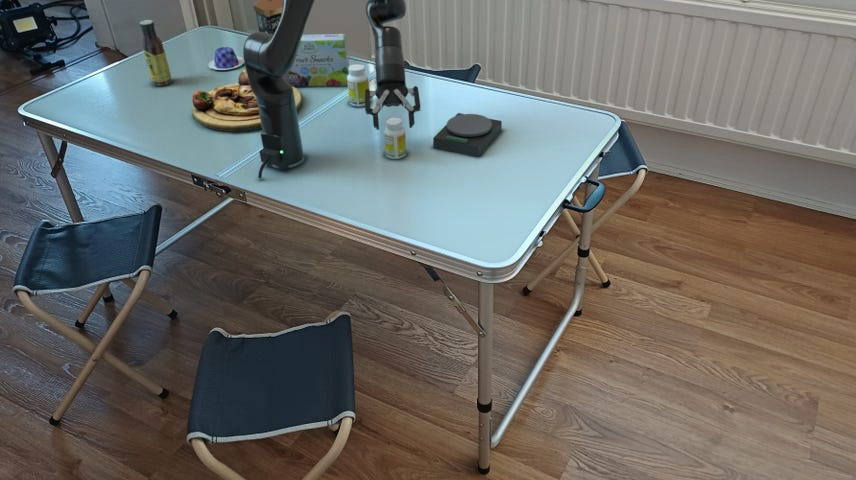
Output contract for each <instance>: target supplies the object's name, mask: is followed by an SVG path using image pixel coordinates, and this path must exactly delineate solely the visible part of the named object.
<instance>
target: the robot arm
mask: <svg viewBox="0 0 856 480" xmlns="http://www.w3.org/2000/svg"><path fill="white" fill-rule="evenodd" d="M314 3H315V0H282V14H281V18H280V21H279V23H278V26H277V29H276V31H275V33H274V35H272V34H268V33H264V32H259V31H254V32H252V33H251V34H249V35H248V36H247V38H246V39H245V41H244V44H243V50H242V54H243V57H242V58H243V59H244V63H243V64H244V67H245V70H246V71H247V75H248V79H249V83H250V87H251V90H252V92H253V93H254V95H255V96H256V100H257V105H258V110H259V115H260V121H261V126H262V128H261V130H262V131H261V132H260V139H261V143H262V149H260V150H259V152H258V153H259V157H260V158H259V159H260V162H261V163H262V164H261V165H260V167H259V170H258V175H257V178H258V179H262V175H263V171H264V168H265V166H266V167H268V168H271V169H276V170H280V171H284V172H285V171H287V170H290V169H293V168H296V167H298V166H300V165H302V164H303V163H304V162H305V154H304V149H303V148H304V147H303V142H302V138H301V130H300V124H299V119H298V118H299V117H298V111H297V110H296V104H295V98H294V91H293V88H292V86H291V85H290V84H289V83H288V82H287V81H286V80H285V79H284V78H283V76H284V75H286V74H287V73H288V72H289V71H290V69H291V68H292V66H293V63H294V61H295V58H296V55H297V52H298V48H299V45H300V41H301V38H302V35H304V32H305V28H306V24H307V21H308V19H309V16H310V14H311V11H312V8H313V5H314ZM406 13H407V4H406V1H405V0H367V1H366V4H365V15H366V16H367V19H368V22H369V25H370V27H371V31H372V34H373V40H374V52H375V55H374V65H375V66H374V67H375V77H376V78H375V79H376V88H375V90H370V88H369V89H366V90H365V106H364V110H365V114H366V115H371V116H372V126H373V128H374V129H375V130H377V131H379V130H380V120H379V113H380V112H381V111H382V110H383V109H384V107H387V108H391V107H399V106H402V107H403V108H404V110H406V112H408V113H407V114H408V127H409V129H412V128H413V126H415V113H416V112H420V111H421V100H420V99H421V98H420V92H419V87H418V85H415V86H413V87H410V88H408V87H407V83H406V69H405V58H404V53H403V46H402V42H403V41H402V34H401V31H400V29H399V28H398V27H395V26H390V25H384V24H388V23H390V22H391V23H392V22H394V21H398V20H399V21H400V20H401V19H403V18H404V17H405V15H406ZM408 95H410V97H412V98H413V99H414V105H412V104H411V102H410V101H409V100H408V99H407V98H406V97H408ZM374 97H376V98H377V99H378V101H377V102H376V104H375V106H374V107H373V108H371V100H374Z"/></svg>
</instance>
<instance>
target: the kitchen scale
mask: <svg viewBox="0 0 856 480" xmlns="http://www.w3.org/2000/svg"><path fill="white" fill-rule="evenodd" d="M502 121H503V120H500V119H493V118H489V117H487V116H484V115H481V114H477V113H460V112H458V113H457V114H456V115H454V116H453V117H451V118H449V119H448V120H447V122H446V125H444V127H443V128H441V129H440V131H439V132H437V133H436V135H434V137H433V138H432V142H433V149H437V150H442V151H447V152H451V153H457V154H462V155H468V156H471V157H475V158H476V157H477V158H479V157H480V156H481V155H482V154H483V152H484V151H485V150H486V149H487V148H488V147H489V146H490V145H491V143H492V142H494V140H495V139H496V138H497V137H498V135H499V134H500V133H501V132H502V129H503V127H502V124H503V122H502Z"/></svg>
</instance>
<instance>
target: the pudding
mask: <svg viewBox="0 0 856 480" xmlns="http://www.w3.org/2000/svg"><path fill="white" fill-rule="evenodd" d="M243 64H245V63H244V57H241V56H237V54H236V52H235V50H234V49H233V48H232V47H230V46H223V47H218V48H217V49H215V51H214V59H212V60H211V61H209V63H208V67H209V69H212V70H216V71H217V70H218V71H226V70H233V69H236V68H239V67H241V66H243Z"/></svg>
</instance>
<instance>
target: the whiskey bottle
mask: <svg viewBox="0 0 856 480" xmlns="http://www.w3.org/2000/svg"><path fill="white" fill-rule="evenodd" d="M252 8H253V11H254V12H255V15H256V21H257V26H258V32H264V33H268V34H272V35H274V33H275V31H276V29H277V26H278V23H279V21H280V18H281V14H282V0H258V1H256V2H255V3H254V4H253V7H252Z"/></svg>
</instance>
